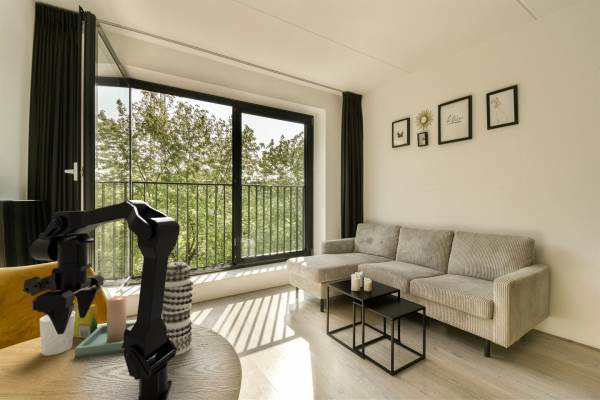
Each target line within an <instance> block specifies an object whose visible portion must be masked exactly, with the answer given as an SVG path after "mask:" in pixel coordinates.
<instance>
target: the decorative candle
mask: <svg viewBox="0 0 600 400" xmlns="http://www.w3.org/2000/svg"><path fill="white" fill-rule="evenodd" d="M191 268H192V267H191V266H190V265H188V263H187V262H185V261H175V262H174V261H173V262H168V264H167V273H166V282H165V290H164V299H163V308H162V320H163V322H164V323H165V325H166V327H167V337H168V338H169V339H170V341H171V342H172V343H173V345H174V346H175V347H176V348H177V352H176V355H175V356H178V355H181V354H184V353H186V352H188V351H189V350H190V349H191V348H192V340H193V338H192V336H193V334H192V329H193V328H192V325H193V322H192V320H191V308H192V302H193V299H192V297H193V294H192V293H191V292H192V291H193V288H194V287H192V286H193V285H194V282H193V281H191Z"/></svg>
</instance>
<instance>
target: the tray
mask: <svg viewBox="0 0 600 400" xmlns="http://www.w3.org/2000/svg"><path fill="white" fill-rule="evenodd" d="M135 322H136V321H132V322H130V321H129V322H126V329H127V328H128V327H130V326H132V325H134V324H135ZM123 342H124V340H122V341H119V342H114V343H108V342H107V324H102V325H99V326H97V329H96V330H95V331H94V332H93V333H92V334H91V335H89V336H88V337H87V338H84V340H83V341H82V342H80V343H79V344H78V345H77V346H76V347H75V348H74V359H78V358H85V357H94V356H100V355H101V356H103V355H109V354H118V353H124V348H121V347H122V345H123Z"/></svg>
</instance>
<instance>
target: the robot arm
mask: <svg viewBox="0 0 600 400" xmlns="http://www.w3.org/2000/svg"><path fill="white" fill-rule="evenodd" d="M124 220H126V224H127V228H128V229H129V231H131V232H132V233H133V234H135V235H136V238H137V239H136V240H137V241H136V242H137V247H138V250H139V251H140V253H141V255H142V256H143V263H142V270H141V279H140V280H141V281H140V288H139V297H138V303H137V304H138V305H137V315H136V321H134V322H135V324H134V325H132V326H130V327H128V328H127V329H125V331H124V342H123V345H122V347H121V348H124V352H123V357H124V360H125V365H126V368H127V371H128V375H129V377H131V378H132V377H133V379H134V380H136V381H138V392H137V394H136V396H135V398H134V400H167V399H168V395H169V393H170V390H171V386H172V384H173V381H172V380H168V379H169V378H168V374H169V372H168V371H169V369H168V368H169V366H168V365H169V362H170V361H171V360H172V359H174V358H175V357H176V356H177V355H176V352H177V348H176V347H175V346H174V345H173V343H172V342H171V341H170V339H169V338H168V337H167V327H166V325H165V323H164V322H163V320H162V308H163V299H164V290H165V282H166V273H167V264H169V256H170V255H171V254H172V252H173V250H174V249H175V247H176V245H177V242H178V240H179V235H180V232H181V231H180V230H181V227H180V223H178V222H177V220H176V219H175V218H174V217H173V218H172V217H170V216H168V215H167V214H166V213H164V212H162V211H160V210H158V209H156V208H154V207H152V206H151V205H149V204H148V203H147V202H145V201H143V200H130V199H129V200H124V201H122V202H119V203H118V202H117V203H115V204H110V205H106V206H102V207H101V206H100V207H98V208H93V209H89V210H67V211H66V210H63V211H61V210H60V211H57V212H55V214H54V215H53V217H52V218H51V220H50V222H49V223H48V225H47V227H46V229H44V230H43V232H42V233H39V234H38V238H37V239H35V240H34V241H33V242H32V243H31V245H30V247H29V249H28V252H29V255H30V257H32V259H34V260H36V261H48V262H49V261H51V262H57V267H54V268H53V269H51V273H50V275H48V276H44V277H42V278H41V277H40V276H37V275H36V276H34V277H31V278H28V279H25V280H24V282H23V289H22V291H23V293H26V294H29V295H30V297H33V296H36V295H38V294H39V293H42V292H44V293H42V294H40V295H38V296H36V297H35V298H34V299H33V300H31V311H36V312H38V313H42V314H43V313H44V314H46V315H48V316H49V318H50V319H51V321H52V323H53V325H54V328H55V330H56V332H57V334H63V333H64V332H65V330H66V327H67V324H68V322H69V319H70V316H71V313H72V311H73V308H74V305H75V303H73V301H75V298H76V301H77V304H78V311H79V316H80V318H85V317H86V315H87V313H88V311H89V309H90V307H91V305H93V302H94V301H95V299H96V297H97V295H98V293H99V291H100V290H101V289H102V286H104V285H105V283H104V277H103V276H102V275H101V274H91V275H89V273H88V269H90V268H92V263H90V262H88V260H89V259H88V257H89V256H88V253H89V251H88V250H89V248H88V246H89V244H93V243H95V239H94V238H93V237H91V236H90V235H89V234H88V233H90V232H92V231H94V230H96V229H97V228H98V227H99V226H102V225H107V224H111V223H116V222H120V221H124ZM48 290H49V291H48ZM45 291H46V292H45Z"/></svg>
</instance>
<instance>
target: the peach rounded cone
mask: <svg viewBox="0 0 600 400" xmlns="http://www.w3.org/2000/svg"><path fill="white" fill-rule="evenodd" d="M126 323H127V296H125V295H118V296H117V295H116V296H113V297H109V298H107V300H106V325H107V342H108V343H114V342H119V341H122V340H124V331H125V329H126Z"/></svg>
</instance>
